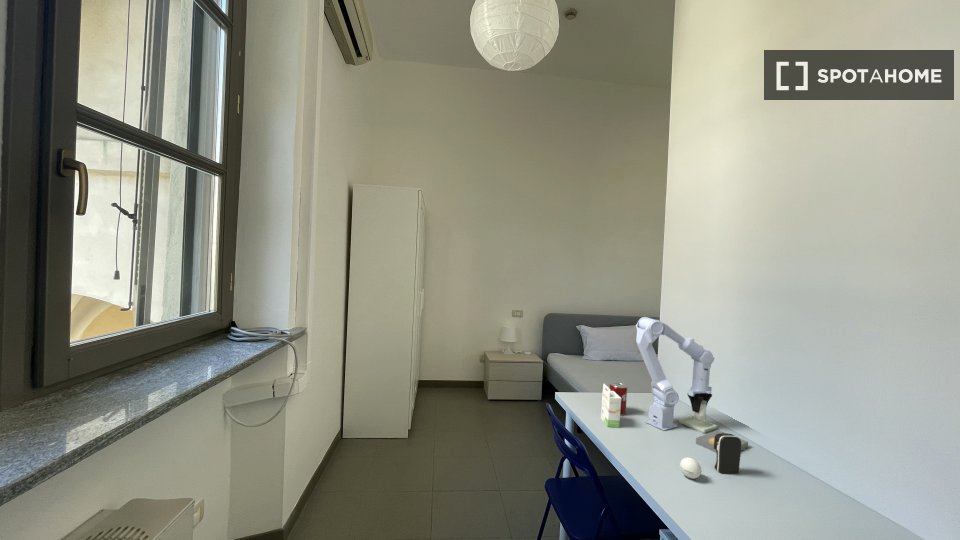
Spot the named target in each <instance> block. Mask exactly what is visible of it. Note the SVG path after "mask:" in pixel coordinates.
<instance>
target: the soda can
mask: <svg viewBox="0 0 960 540" xmlns="http://www.w3.org/2000/svg"><path fill="white" fill-rule="evenodd" d="M608 388H609V389H610V391H614V392H615V393H616V394H617V395H618V396H619V397H621V409H620V416H624V415H625V414H626V413H627V398H628V386H627V385H626V384H624V383H620V382H611V383H610V384H609V386H608Z"/></svg>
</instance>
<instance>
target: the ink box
mask: <svg viewBox="0 0 960 540" xmlns="http://www.w3.org/2000/svg"><path fill="white" fill-rule="evenodd" d="M601 397H602V398H601V407H600V408H601V411H600V419H601V421H603V422H604V424H605V425H606V427H608V428H618V429H619V428H620V423H621V422H620V421H621V415H620V409H621V397H619V396H618V395H617V394H616V393H615V392H614V391H610V389H609V386H607V385H606V383H603V385H602V396H601Z"/></svg>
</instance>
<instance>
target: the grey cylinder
mask: <svg viewBox="0 0 960 540" xmlns="http://www.w3.org/2000/svg"><path fill="white" fill-rule="evenodd" d="M706 404H707V401H706V400H704V399H703V400H702V402H701V405H700V410H699V413H697V412H694V417H695V420H697V421H701V422H706V421H707V406H706ZM707 405H708V404H707Z"/></svg>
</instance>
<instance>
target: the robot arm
mask: <svg viewBox="0 0 960 540" xmlns="http://www.w3.org/2000/svg"><path fill="white" fill-rule="evenodd" d="M635 327H636V341H635V343H636V345H637V347H638V351H639V353H640V355H641V357H642V360H643V362H644V365H645V367H646V369H647V372H648V374H649V376H650V379H651V382H650V385H651V394H652V396H653V399H654V401H653V404H651V405H650V406H649V408H648V418H647V419H648V420H646V421H645V423H646V424H648V425H651V426H653V427H656V428H658V429H660V430H662V431H668V430H670V429H671V430H672V429H674V428H676V427H678V424H676V423H674V415H675V412H674V411H675V406H676V404H677V403H678V402H679V399H680V398H679V393H678V392H677V391H676V390H675V389H674V388H673V386H672V384H671V383H670V381H669V380H668V379H667V378H666V375H665V372H664V370H663V367H662V366H661V363H660V360H659V358H658V356H657V353H656V351H655V349H654V346H653V343H654V342H655V341H656V340H657V339H658V338H659V337H660V336H665V337H667V338H668V339H670V340H672V341H674V342H675V343H676V344H678V349H679V350H681V351H683V352H684V353H685V354H686V355H688V356H690V358H691V360H692V361H693V368H692V369H693V370H692V382H691V383H692V386H691V387H690V388H689V389H688V390H687V397H688V399H689V401H690V404H691V410H692V412H694V413H695V412H697V413H699V410H700V405H701V402H702V400H703V399H704V400H706V401H707V404H706V407H707V406H708V403H709V401H710V399H711V398H712V397H713V394H712V392H713V391H712V390H713V389H712V388H713V387H712V386H710V373H711V372H710V370H711V368H712V364H713V363H714V362H715V357H714V355H713V353H712V351H711V350H708V349H705V348H704V346H703V345H702V344H698V343H697V342H695V339H694V338H693V337H687V336H686V337H684V336H682V335H680V333H678V331H677V332H676V330H674V329H673V328H672V327H670V326H669V325H668V324H666V323H665V322H662V321H661V320H659V319H654V318H651V317H647V316H643V317H641V318H639V319H638V321H637V323H636V324H635Z"/></svg>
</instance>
